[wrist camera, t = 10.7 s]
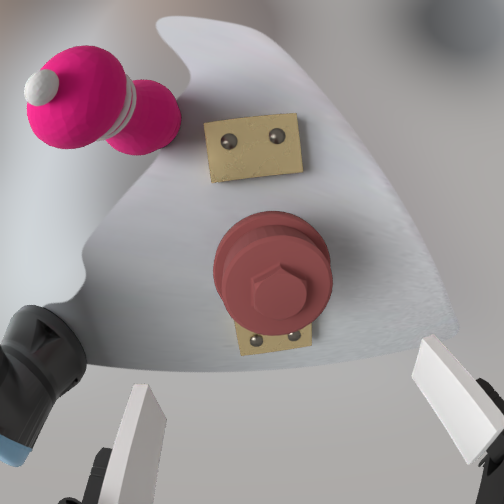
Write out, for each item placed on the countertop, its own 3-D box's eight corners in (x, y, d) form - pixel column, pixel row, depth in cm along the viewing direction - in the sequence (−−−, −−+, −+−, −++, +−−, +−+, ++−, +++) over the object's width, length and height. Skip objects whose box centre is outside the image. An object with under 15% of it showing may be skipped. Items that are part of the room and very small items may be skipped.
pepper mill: (125, 92, 25) (0, 38, 6) (189, 89, 25) (116, -5, 6) (120, 155, 27) (-20, 173, 8) (183, 155, 27) (88, 160, 9)
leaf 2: (213, 181, 29) (211, 183, 26) (205, 125, 27) (203, 122, 24) (298, 171, 29) (303, 172, 27) (292, 115, 27) (296, 112, 24)
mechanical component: (281, 181, 29) (322, 257, 32) (200, 229, 30) (248, 299, 33) (311, 199, 17) (365, 312, 20) (180, 276, 19) (255, 370, 22)
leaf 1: (240, 346, 36) (240, 357, 33) (233, 307, 34) (233, 318, 31) (308, 336, 36) (312, 346, 34) (307, 297, 34) (311, 306, 32)
